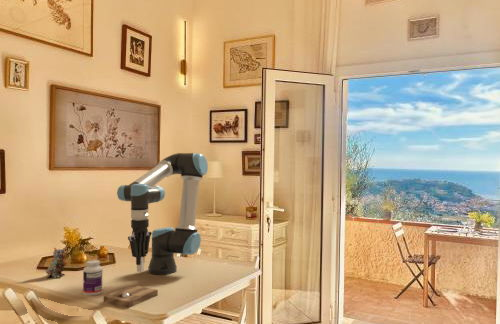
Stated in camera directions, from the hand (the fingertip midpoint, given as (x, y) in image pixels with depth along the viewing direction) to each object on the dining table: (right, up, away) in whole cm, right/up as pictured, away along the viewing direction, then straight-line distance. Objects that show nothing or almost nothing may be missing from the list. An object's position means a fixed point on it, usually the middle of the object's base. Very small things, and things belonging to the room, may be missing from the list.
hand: (140, 271), depth 185 cm
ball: (-5, -10, -9) cm, 14 cm away
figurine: (-50, -10, +27) cm, 58 cm away
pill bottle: (-22, -11, +1) cm, 24 cm away
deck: (-3, -11, -5) cm, 12 cm away
